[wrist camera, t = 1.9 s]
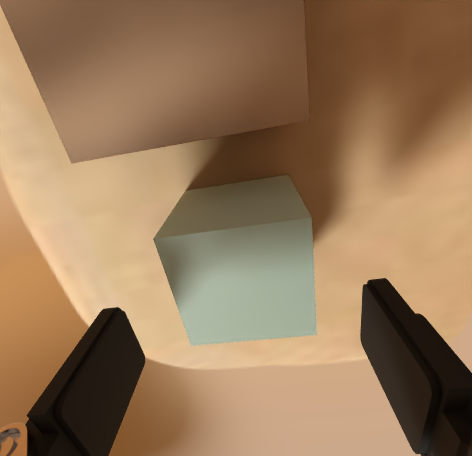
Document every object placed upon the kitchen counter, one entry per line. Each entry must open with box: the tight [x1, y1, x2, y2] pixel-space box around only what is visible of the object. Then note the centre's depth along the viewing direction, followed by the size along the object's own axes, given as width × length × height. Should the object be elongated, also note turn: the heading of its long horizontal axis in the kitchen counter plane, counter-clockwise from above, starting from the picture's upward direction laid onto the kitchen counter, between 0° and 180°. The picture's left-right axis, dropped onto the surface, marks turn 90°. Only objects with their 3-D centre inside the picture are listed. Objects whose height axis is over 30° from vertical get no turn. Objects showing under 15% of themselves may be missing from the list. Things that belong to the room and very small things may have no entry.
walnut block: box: [0, 0, 309, 163], centre depth 10 cm, size 10×10×4 cm
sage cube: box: [154, 175, 317, 346], centre depth 14 cm, size 6×6×6 cm
